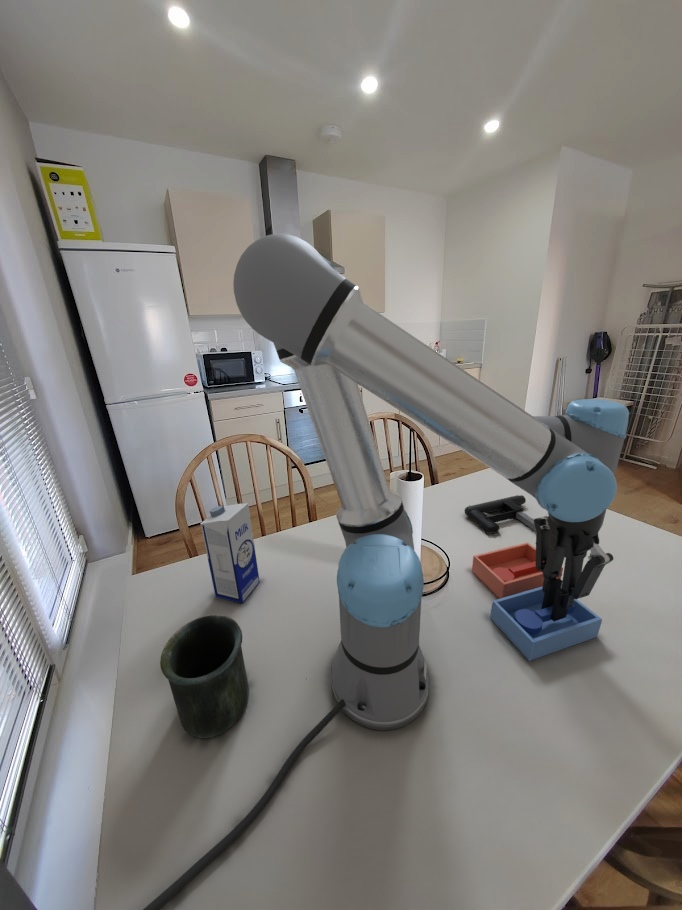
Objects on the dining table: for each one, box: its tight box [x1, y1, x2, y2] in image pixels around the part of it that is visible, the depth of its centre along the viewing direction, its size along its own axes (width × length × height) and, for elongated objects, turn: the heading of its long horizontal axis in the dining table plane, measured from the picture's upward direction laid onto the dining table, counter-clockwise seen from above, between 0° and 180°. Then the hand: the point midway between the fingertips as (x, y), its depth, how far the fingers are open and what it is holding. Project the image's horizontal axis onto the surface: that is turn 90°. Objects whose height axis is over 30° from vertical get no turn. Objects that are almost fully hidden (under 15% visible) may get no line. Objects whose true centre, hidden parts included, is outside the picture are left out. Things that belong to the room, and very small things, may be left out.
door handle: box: [464, 494, 536, 534], centre depth 99 cm, size 3×20×16 cm
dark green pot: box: [159, 614, 250, 739], centre depth 53 cm, size 11×15×12 cm
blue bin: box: [489, 586, 603, 662], centre depth 64 cm, size 15×10×4 cm, turn 107°
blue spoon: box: [514, 605, 575, 634], centre depth 64 cm, size 12×4×2 cm, turn 107°
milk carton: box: [200, 503, 261, 604], centre depth 74 cm, size 7×7×20 cm
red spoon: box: [492, 561, 541, 582], centre depth 77 cm, size 12×4×2 cm, turn 107°
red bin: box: [471, 542, 564, 599], centre depth 77 cm, size 15×10×4 cm, turn 107°
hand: (553, 613), depth 65 cm, fingers closed on blue spoon, 1 cm apart
